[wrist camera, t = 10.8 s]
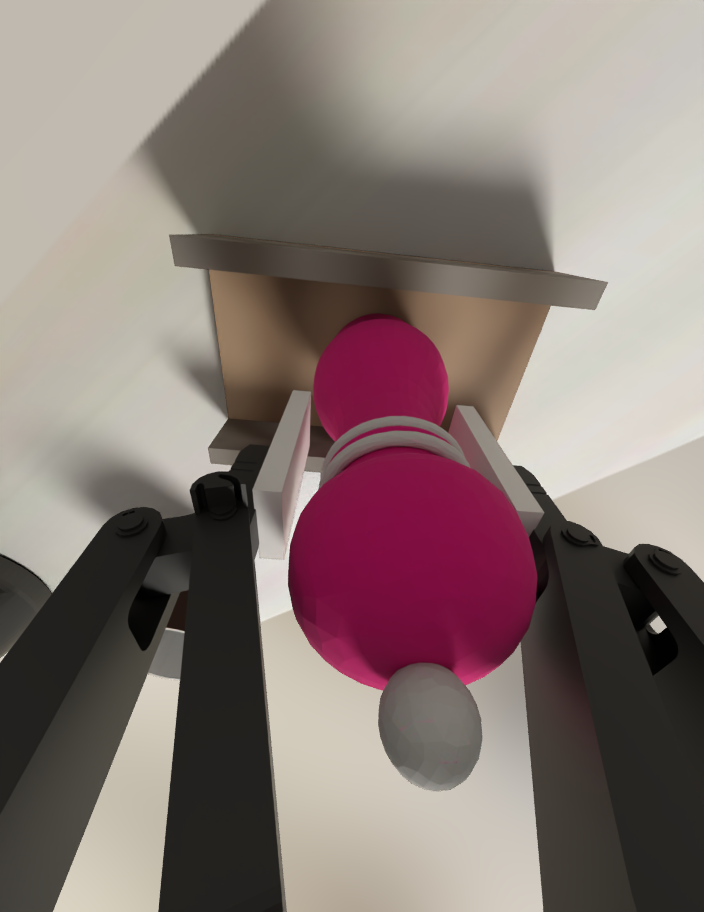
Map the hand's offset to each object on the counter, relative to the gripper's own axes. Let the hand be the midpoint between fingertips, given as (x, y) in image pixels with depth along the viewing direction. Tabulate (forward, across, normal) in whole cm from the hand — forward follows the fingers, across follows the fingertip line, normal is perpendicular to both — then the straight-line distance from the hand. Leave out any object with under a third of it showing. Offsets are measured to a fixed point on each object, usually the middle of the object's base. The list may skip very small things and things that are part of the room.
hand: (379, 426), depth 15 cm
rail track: (+9, 0, 0) cm, 9 cm away
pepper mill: (+9, 0, 0) cm, 9 cm away
